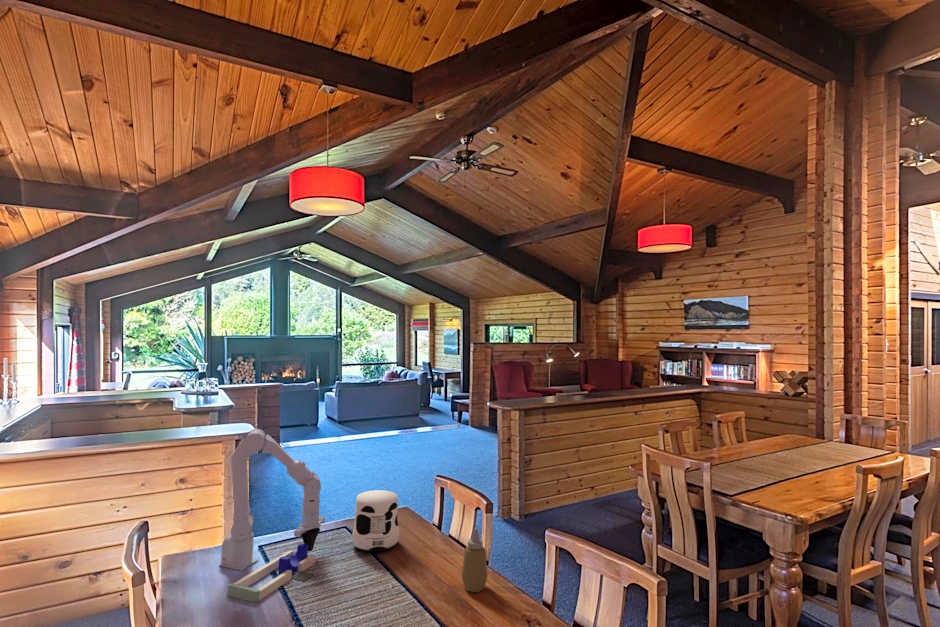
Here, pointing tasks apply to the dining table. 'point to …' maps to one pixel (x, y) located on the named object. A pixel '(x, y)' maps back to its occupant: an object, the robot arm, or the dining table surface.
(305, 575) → the mat
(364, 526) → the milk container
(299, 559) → the cable clip
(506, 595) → the dining table surface
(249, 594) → the lane
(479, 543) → the squeeze bottle
